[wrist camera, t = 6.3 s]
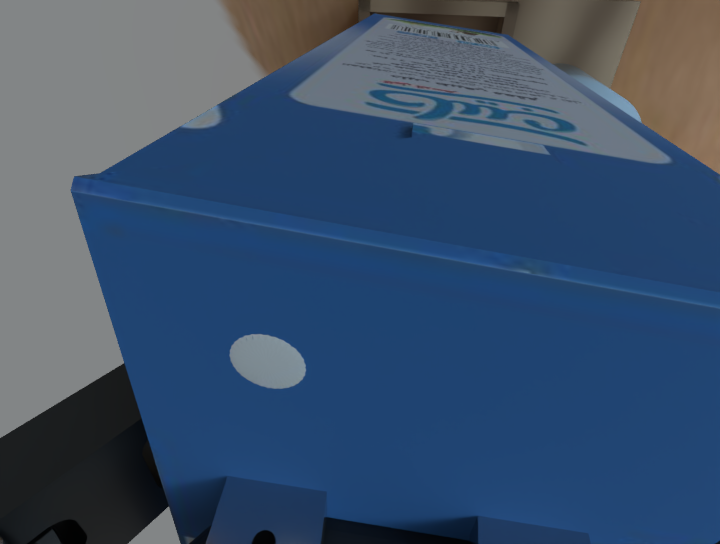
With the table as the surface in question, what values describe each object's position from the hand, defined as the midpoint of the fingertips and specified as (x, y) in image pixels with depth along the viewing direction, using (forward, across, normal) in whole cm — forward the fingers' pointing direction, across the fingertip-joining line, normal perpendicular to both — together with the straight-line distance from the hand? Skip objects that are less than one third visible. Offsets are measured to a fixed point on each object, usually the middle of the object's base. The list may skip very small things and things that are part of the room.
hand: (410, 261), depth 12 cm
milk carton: (+13, 0, 0) cm, 13 cm away
